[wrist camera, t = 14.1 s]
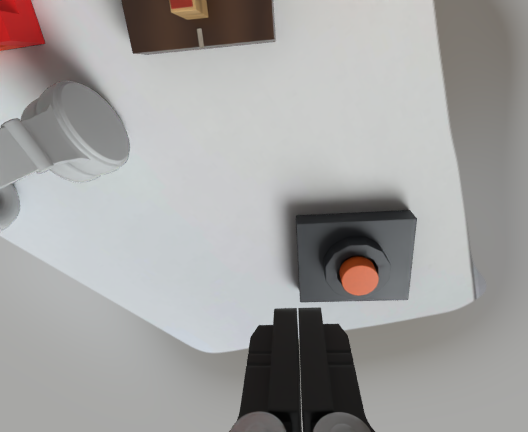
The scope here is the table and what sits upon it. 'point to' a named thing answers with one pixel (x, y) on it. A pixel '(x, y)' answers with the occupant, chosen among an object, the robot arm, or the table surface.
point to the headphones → (60, 141)
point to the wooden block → (189, 8)
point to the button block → (355, 253)
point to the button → (358, 275)
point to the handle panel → (198, 25)
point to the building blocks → (18, 25)
